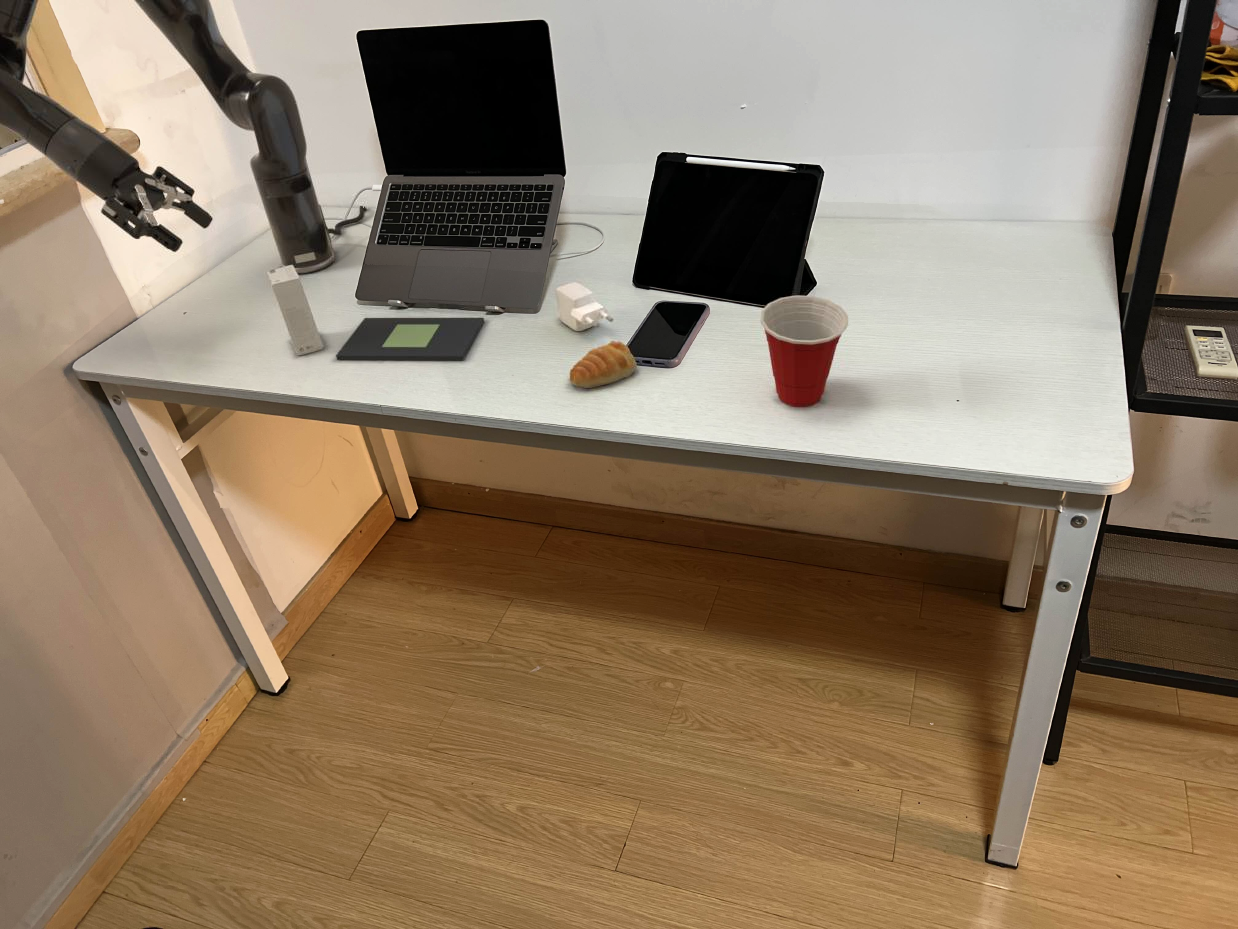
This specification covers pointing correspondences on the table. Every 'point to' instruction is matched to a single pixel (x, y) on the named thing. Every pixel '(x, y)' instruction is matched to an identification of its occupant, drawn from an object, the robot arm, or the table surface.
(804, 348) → the plastic cup
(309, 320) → the cosmetic box
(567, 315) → the power adapter
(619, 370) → the pastry
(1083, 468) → the table surface
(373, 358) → the mat
